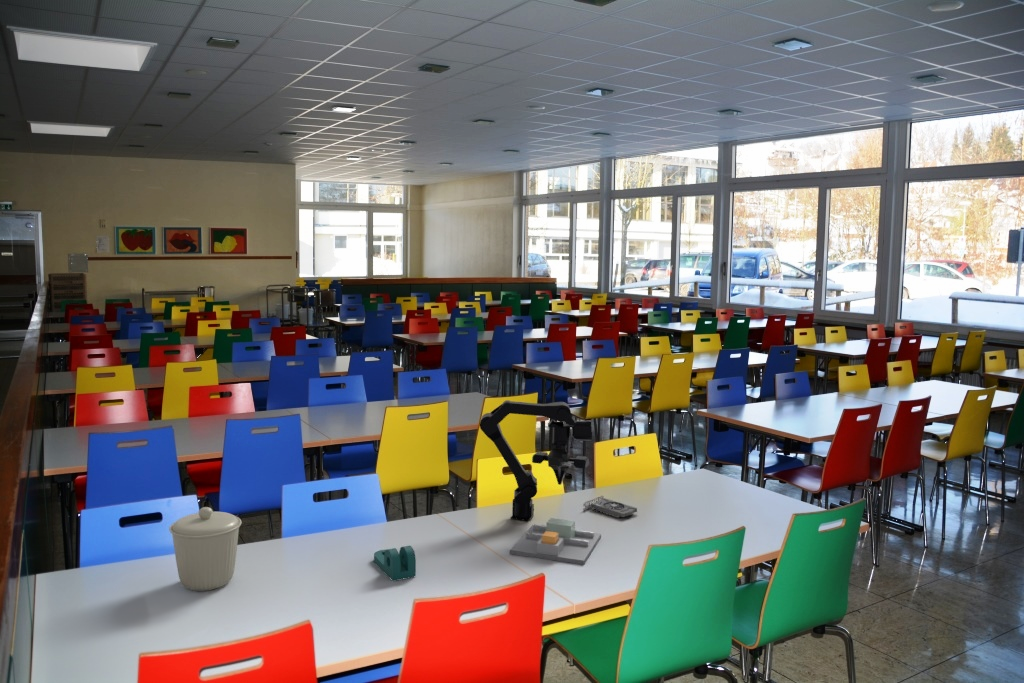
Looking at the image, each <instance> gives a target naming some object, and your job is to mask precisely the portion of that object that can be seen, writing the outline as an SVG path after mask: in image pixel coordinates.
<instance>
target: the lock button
mask: <svg viewBox="0 0 1024 683" xmlns="http://www.w3.org/2000/svg"><path fill="white" fill-rule="evenodd" d="M558 538H559V533H557V532H549V531H546V532H545V533H544V534H543V535H542V543H548V544H555V545H556V543H557V542H558Z"/></svg>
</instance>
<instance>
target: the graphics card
mask: <svg viewBox="0 0 1024 683" xmlns="http://www.w3.org/2000/svg"><path fill="white" fill-rule="evenodd" d="M582 505H583V506H582V507H584V508H582V511H583V510H585V511H587V510H586V509H590V510H594V509H596V510H594V512H595V511H596V512H595V513H598V512H599V511H600V512H599V513H602V512H603V513H602V514H605V513H606V515H608V514H609V516H611V515H612V517H615V518H620V517H621V518H626V517H627V516H631V515H633V514H634V513H638V507H635V506H633V505H632V506H631V505H628V504H626V503H622V502H619V501H615V500H613V499H609V498H604V495H600V496H598V497H596V498H592V499H589V500H587V501H585V502H584V503H583V504H582ZM592 508H593V509H592Z"/></svg>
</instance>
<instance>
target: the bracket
mask: <svg viewBox="0 0 1024 683" xmlns="http://www.w3.org/2000/svg"><path fill="white" fill-rule="evenodd" d="M416 560H417V558H416V553H415V551H414V548H413V547H412V545H406V546H401V547H400V548H399V551H398V549H397V548H396V547H394V548H389V549H388V548H387V549H379V550H378V551H375V552H374V554H373V562H374V564H375V563H376V564H377V565H378V566H379V567H380V568H381V569H382V570H383V571H384V572H385V573H386V574H387V575H388V576H389V577H390V578H391V579H392V580H396V581H398V580H397V579H402V580H404V579H403V578H407V579H409V578H408V577H412V578H415V577H414V576H416V572H417V571H416V569H417V568H416V567H417V565H416V564H417V562H416ZM376 564H375V565H376ZM377 565H376V566H377ZM379 567H378V568H379ZM380 568H379V569H380ZM381 569H380V570H381ZM382 570H381V571H382ZM383 571H382V572H383ZM384 572H383V573H384ZM385 573H384V574H385ZM386 574H385V575H386ZM387 575H386V576H387ZM388 576H387V577H388ZM389 577H388V578H389ZM390 578H389V579H390ZM391 579H390V580H391ZM392 580H391V581H392Z"/></svg>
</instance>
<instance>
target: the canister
mask: <svg viewBox="0 0 1024 683" xmlns="http://www.w3.org/2000/svg"><path fill="white" fill-rule="evenodd" d="M241 525H242V520H241V518H240V517H239V516H236V515H234V514H232V513H229V512H225V511H213V509H212V508H211V507H208V506H204V507H201V508H200V509H199V510H198V512H196V513H192V514H187V515H185V516H183V517H181V518H179V519H177V520H176V521H174V522H173V523H172V524H170V526H169V528H168V531H169V533H171V535H172V542H173V548H174V555H175V562H176V568H177V574H178V578H179V582H180V583H181V585H182V586H183V587H184V588H186V589H187V590H190V591H191V590H192V591H195V592H196V591H197V592H198V591H199V592H201V591H202V592H203V591H204V592H205V591H210V590H211V591H212V590H216V589H219V588H221V587H224V586H226V585H227V584H228V583H229V582H231V580H232V578H233V576H234V573H235V570H236V569H235V568H236V567H235V566H236V561H237V560H236V558H237V551H238V542H239V532H240V531H239V530H240V527H241Z"/></svg>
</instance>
